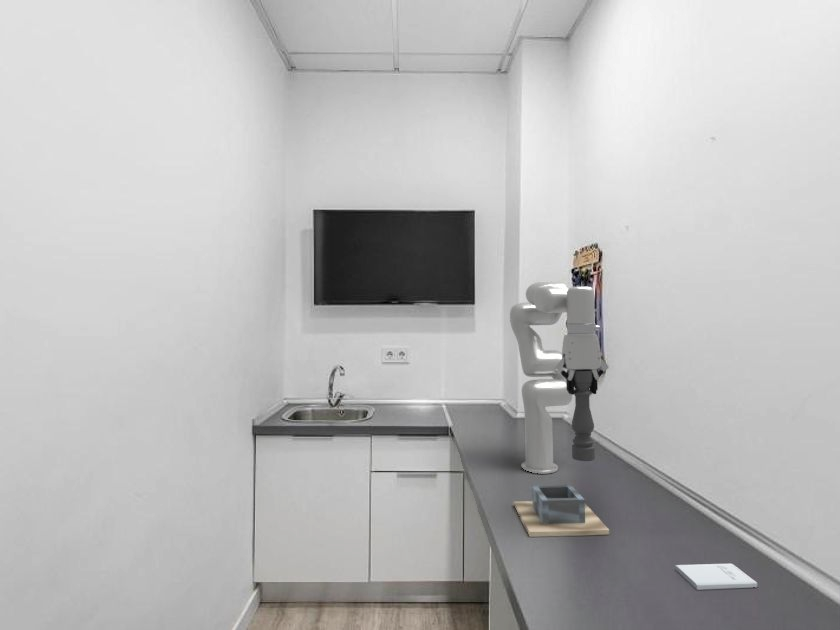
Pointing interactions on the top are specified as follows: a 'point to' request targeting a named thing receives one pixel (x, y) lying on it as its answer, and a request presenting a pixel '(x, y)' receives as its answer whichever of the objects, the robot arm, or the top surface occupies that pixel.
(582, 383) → the candle holder
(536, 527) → the socket board
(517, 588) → the top surface
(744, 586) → the external hard drive
